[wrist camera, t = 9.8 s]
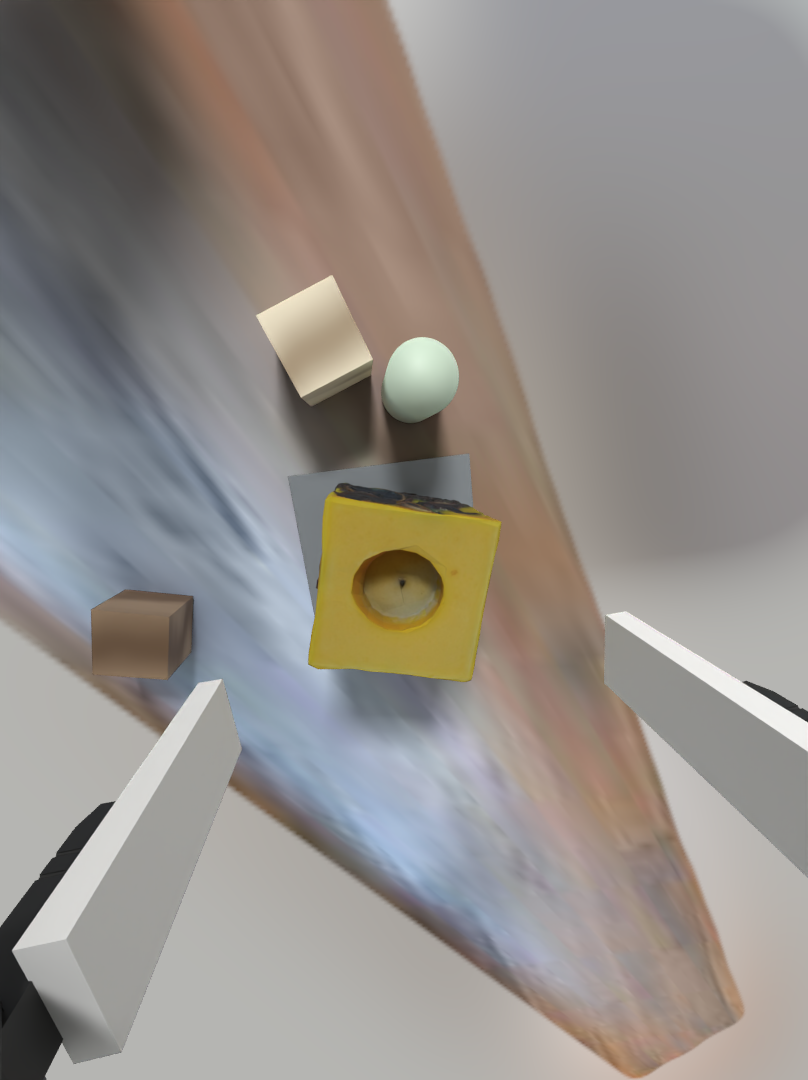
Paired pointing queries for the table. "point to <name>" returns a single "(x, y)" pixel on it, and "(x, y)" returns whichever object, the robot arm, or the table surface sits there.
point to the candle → (401, 583)
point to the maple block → (317, 341)
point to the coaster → (415, 476)
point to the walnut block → (141, 634)
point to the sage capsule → (419, 380)
